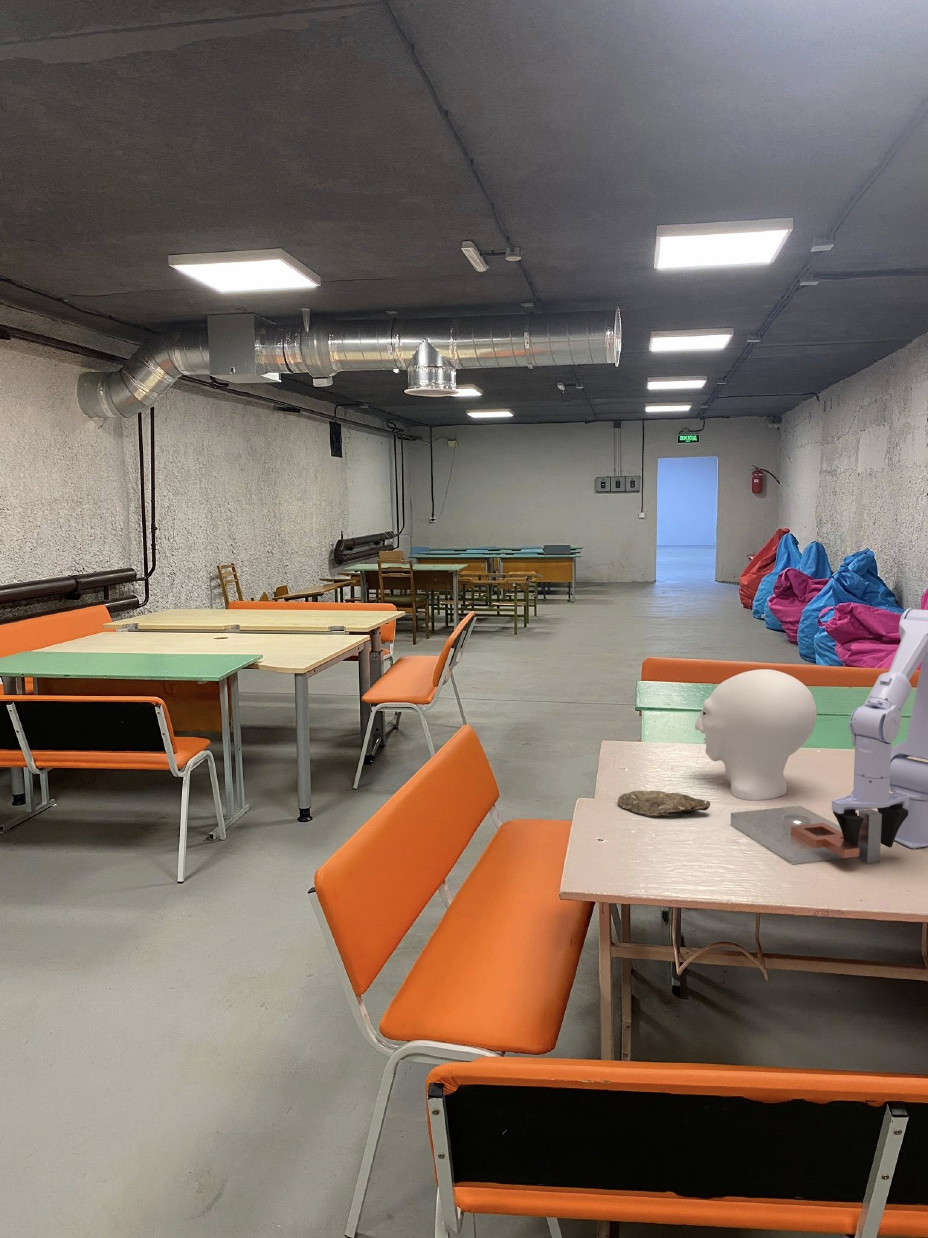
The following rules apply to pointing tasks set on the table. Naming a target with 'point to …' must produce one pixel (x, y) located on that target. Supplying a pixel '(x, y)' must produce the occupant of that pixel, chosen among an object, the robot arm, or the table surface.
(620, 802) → the rock
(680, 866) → the table surface
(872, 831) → the grey rectangular block
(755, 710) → the head sculpture
